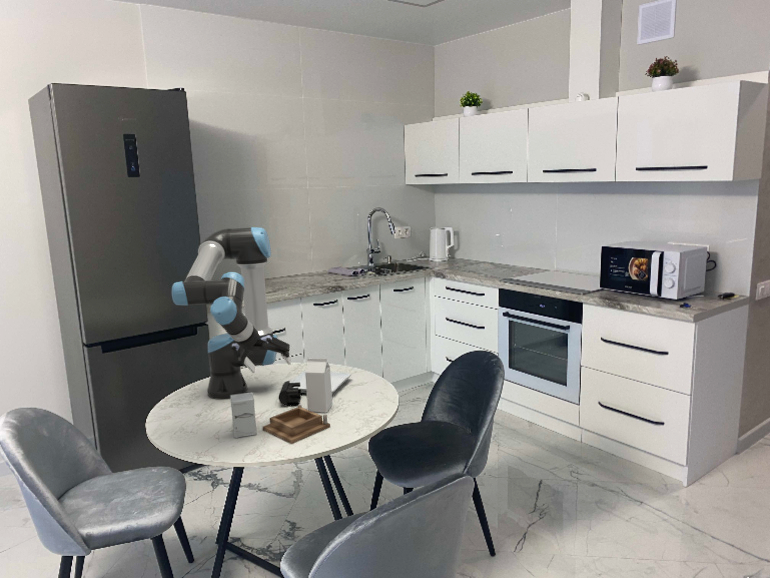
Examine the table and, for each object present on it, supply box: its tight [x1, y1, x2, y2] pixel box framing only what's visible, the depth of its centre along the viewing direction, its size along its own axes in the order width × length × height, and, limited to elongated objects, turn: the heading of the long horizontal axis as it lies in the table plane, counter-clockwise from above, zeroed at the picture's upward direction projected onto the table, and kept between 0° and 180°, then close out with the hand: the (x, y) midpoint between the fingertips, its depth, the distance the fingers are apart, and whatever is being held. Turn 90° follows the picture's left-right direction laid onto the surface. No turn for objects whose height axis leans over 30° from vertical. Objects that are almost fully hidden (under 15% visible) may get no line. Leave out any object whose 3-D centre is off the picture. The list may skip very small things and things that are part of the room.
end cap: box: [278, 380, 302, 408], centre depth 218 cm, size 10×7×7 cm
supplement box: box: [229, 392, 258, 439], centre depth 193 cm, size 7×7×13 cm
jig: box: [262, 404, 331, 445], centre depth 195 cm, size 16×16×4 cm
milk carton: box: [304, 357, 333, 413], centre depth 210 cm, size 7×7×19 cm
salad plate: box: [290, 369, 352, 395], centre depth 233 cm, size 21×21×3 cm
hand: (271, 365), depth 204 cm, fingers open, 13 cm apart
